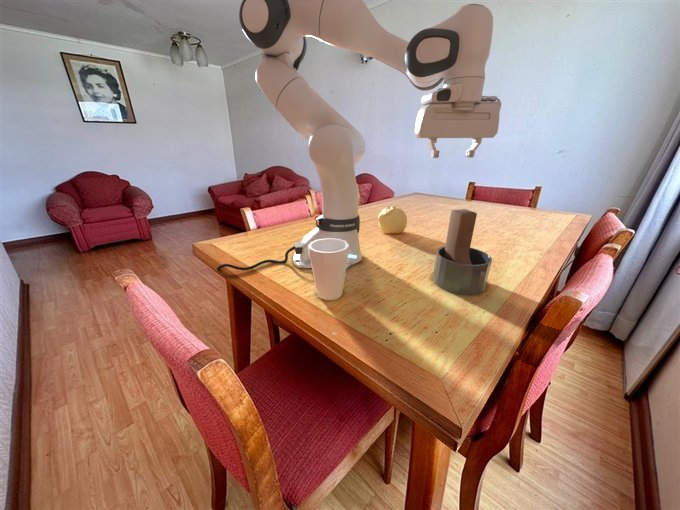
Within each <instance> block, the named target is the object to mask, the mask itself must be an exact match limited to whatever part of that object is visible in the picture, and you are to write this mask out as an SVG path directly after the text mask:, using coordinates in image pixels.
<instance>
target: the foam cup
mask: <svg viewBox="0 0 680 510" xmlns="http://www.w3.org/2000/svg"><path fill="white" fill-rule="evenodd" d="M308 252H309V257H310V260H311V265H312V268H311V270H312V274H313V280H314V285H315V290H316V294H317V295H316V296H317V297H318V298H320V299H321V300H325V301H333V300H337V299H339V298H340V297H342V295H343V291H344V286H345V285H344V284H345V277H346V273H347V272H346V271H347V269H346V265H347V258H348V255H349V244H348V243H347V242H346V241H344V240H341V239H335V238H324V239H318V240H315V241H313V242H311V243H310V244H309V245H308Z"/></svg>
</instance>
